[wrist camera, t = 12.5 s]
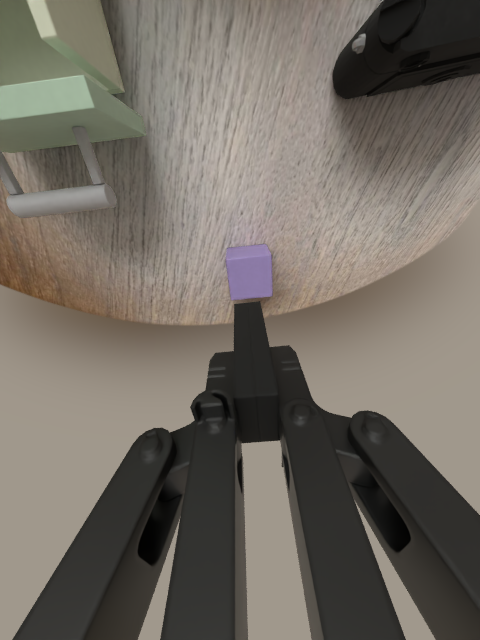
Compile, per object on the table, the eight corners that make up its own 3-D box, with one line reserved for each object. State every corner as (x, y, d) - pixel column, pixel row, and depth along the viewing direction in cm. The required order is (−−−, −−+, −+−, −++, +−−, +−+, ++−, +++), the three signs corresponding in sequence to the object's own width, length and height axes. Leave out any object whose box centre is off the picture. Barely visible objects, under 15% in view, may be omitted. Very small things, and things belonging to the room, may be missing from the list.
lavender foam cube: (231, 284, 26) (231, 300, 22) (226, 247, 23) (225, 259, 20) (267, 280, 26) (272, 296, 22) (266, 243, 23) (271, 254, 20)
